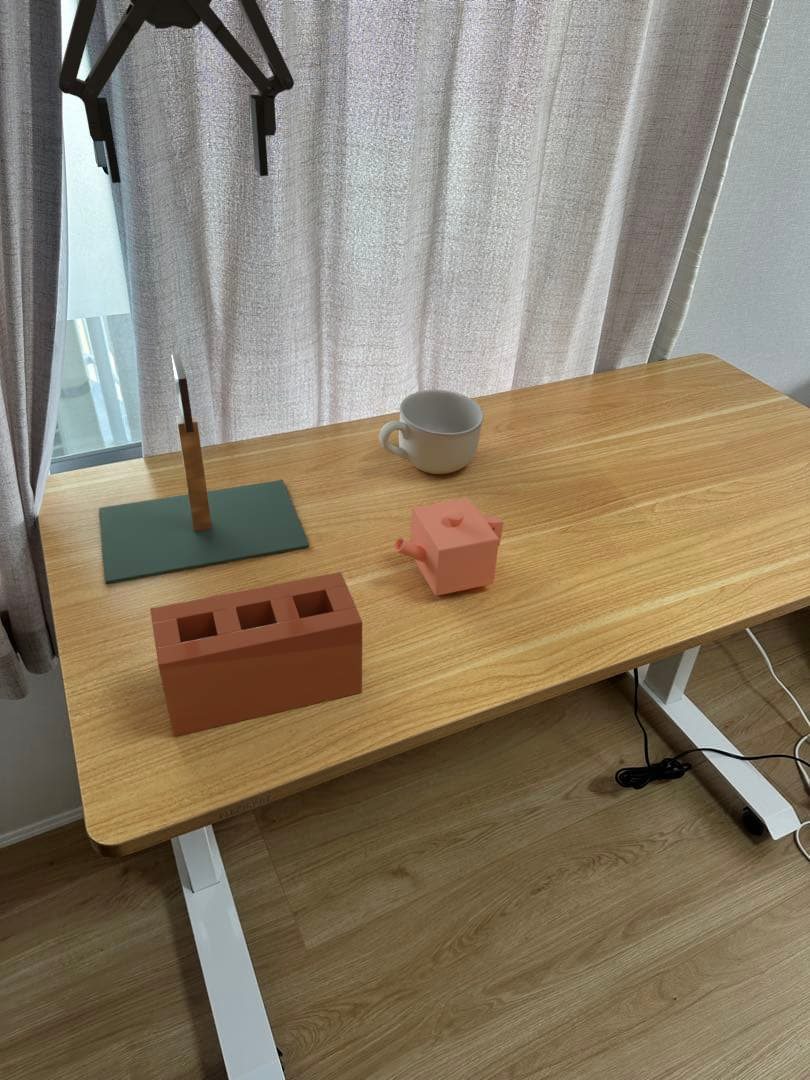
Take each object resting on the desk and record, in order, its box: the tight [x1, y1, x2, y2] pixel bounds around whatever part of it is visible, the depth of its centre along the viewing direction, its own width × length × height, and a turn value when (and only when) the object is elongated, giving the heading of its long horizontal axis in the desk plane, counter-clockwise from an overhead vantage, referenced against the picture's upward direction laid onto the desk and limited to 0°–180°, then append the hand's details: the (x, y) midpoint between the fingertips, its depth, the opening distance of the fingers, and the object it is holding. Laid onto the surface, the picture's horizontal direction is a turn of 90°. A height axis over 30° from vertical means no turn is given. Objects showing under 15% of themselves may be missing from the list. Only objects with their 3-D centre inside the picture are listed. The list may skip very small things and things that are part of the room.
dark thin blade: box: [171, 353, 212, 532], centre depth 87 cm, size 2×6×20 cm, turn 19°
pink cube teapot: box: [393, 497, 505, 597], centre depth 86 cm, size 8×12×8 cm, turn 110°
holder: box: [149, 571, 363, 737], centre depth 72 cm, size 7×17×9 cm, turn 109°
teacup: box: [378, 389, 485, 475], centre depth 104 cm, size 14×11×8 cm
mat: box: [98, 479, 310, 585], centre depth 93 cm, size 22×14×1 cm, turn 109°
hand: (190, 176), depth 77 cm, fingers open, 13 cm apart
